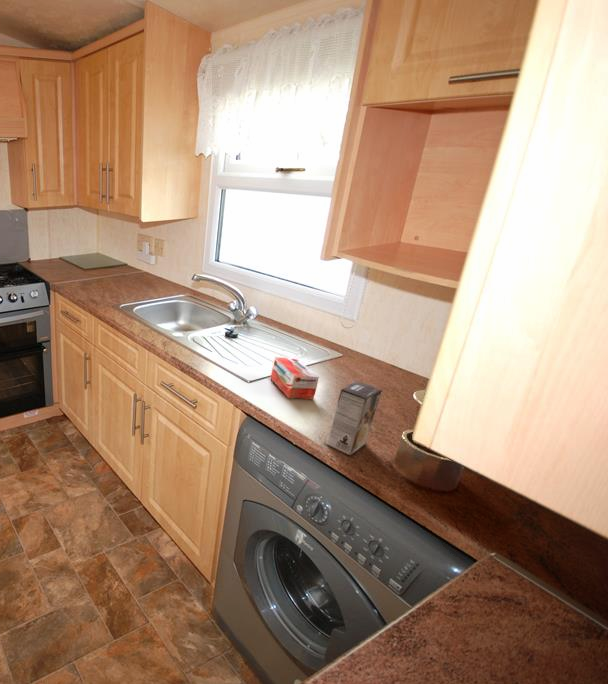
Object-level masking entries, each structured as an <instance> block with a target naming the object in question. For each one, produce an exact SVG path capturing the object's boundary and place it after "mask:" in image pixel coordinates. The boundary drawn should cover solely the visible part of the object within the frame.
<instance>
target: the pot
mask: <svg viewBox="0 0 608 684" xmlns="http://www.w3.org/2000/svg"><path fill="white" fill-rule="evenodd" d="M413 430H414V429H407V430H405V431H402V434H401V437H400V439H399V443H398V445H397V448H396V452H395V454H394V457H393V460H392V466H393V468H394V469H395V470H396V472H397V473H398V474H399V475H401V476H402V477H403V478H404V479H407V480H408V481H411V482H412V483H414V484H416V485H417V486H421V487H424V488H427V489H430V490H436V491H440V492H447V491H448V492H449V491H453V490H454V489H456V488H457V487H458V485H459V483H460V481H461V478H462V476H463V473H464V471H465V468H466V467H465V468H464V467H462V466H460V465H459V464H457V463H455V462H453V461H451V460H449V459H448V458H445V457H443V456H441V455H439V454H437V453H435V452H433V451H431V450H429V449H427V448H426V447H423V446H421V445H419V444H416V443H414V442H413V440H412V434H413Z"/></svg>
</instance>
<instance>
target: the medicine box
mask: <svg viewBox="0 0 608 684" xmlns="http://www.w3.org/2000/svg"><path fill="white" fill-rule="evenodd" d="M270 373H271V374H270V380H271V381H272V382H273V383H274V384H275V385H276V386H277V387H278V388H279V390H280V391H281V392H282V393H283V394H284V395H285V396H286V398H288V399H297V400H298V399H303V400H314V398H315V395H316V392H317V387H318V383H319V378H320V376H318V374H316V373H315V372H314V371H313V370H312V369H310V368H309V367H308V366H307V365H306V364H304V363H303V362H302V361H301V360H299V359H298V358H296V357H295V358H294V357H279V356H278V357H276V356H275V357H274V359H273V364H272V368H271V372H270Z"/></svg>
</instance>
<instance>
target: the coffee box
mask: <svg viewBox="0 0 608 684" xmlns="http://www.w3.org/2000/svg"><path fill="white" fill-rule="evenodd" d="M382 392H383V389H381V388H378V387H375V386H373V385H370V384H367V383H363V382H361V381H358V380H355V381H354V382H352V383H349V384H348V385H347V386H345V387H343V388H341V390H340V393H339V395H338V400H337V403H336V406H335V411H334V414H333V417H332V421H331V425H330V429H329V432H328V436H327V439H326V445H328V446H330V447H332V448H333V449H336V450H338V451H340V452H342V453H344V454H346V455H349V456H351V455H353V454H354V453H355V452H356V451H358V450H359V449H361V448H362V447H363V446H365V445H366V442H367V439H368V436H369V433H370V430H371V426H372V423H373V420H374V416H375V414H376V411H377V408H378V405H379V401H380V398H381V395H382Z"/></svg>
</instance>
